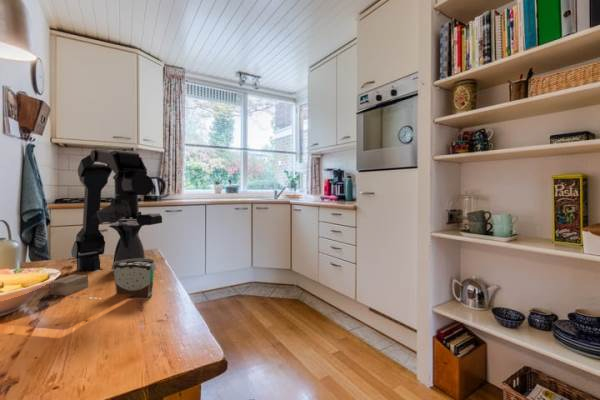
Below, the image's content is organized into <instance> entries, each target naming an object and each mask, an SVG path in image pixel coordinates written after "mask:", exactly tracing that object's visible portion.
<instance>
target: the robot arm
mask: <svg viewBox="0 0 600 400" xmlns="http://www.w3.org/2000/svg"><path fill="white" fill-rule="evenodd" d="M112 171H113V173H114V175H113V176H112V179H113V180H114V198H111V200H110V204H109V205H107V206H104V207H103V208H101V199H102V198H101V197H102V190H103V189H104V188H105V187H106V185H107V184H108V181H109V177H110V176H111V174H112ZM77 175H78V177H79V179H78V180H79V182H80V183H81V184H82V187H84V195H83V196H84V198H83V213H82V214H83V216H82V228H81V229H80V231H78V233H77V234H76V235H75V236H76V237H75V240H74V242H73V244H72V248H71V250H70V251H71V257H72V258H73V259H75V260H76V270H77V271H79V272H81V273H82V272H95V271H97V270H98V271H103V270H104V268H101V259H100V255H104V253H105V248H106V241H105V236H104V235H103V234H102V232H101V231H100V225H102V224H103V223H109V224H110V225H108V226H109V228H112V229H114V230H115V231H116V233H117V234H118V235H119V238H121V240H122V242H123V244H124V246H125V248H126V249H129V248H131V246H132V244H133V241H134V239H135V237H136V235H138V233H139V232H140V230H141V229H142V227H144V226H153V225H157V224H158V225H159V224H162V223H163V217H162V215H161V214H160V213H142V211H139V203H140V202H142V198H140V197H139V196H146V195H148V194H150V193H151V192H152V191H153V189H154V182H153V180H152V177H150V176H149V175H148V169H147V167H146V165H145V163H144V161H143V159H142V157H141V156H140V153H138V152H135V151H124V150H111V151H110V150H107V149H96V148H94V149H92V150H91V151H90V154H89V155H87V156H85V157H84V158H82V159H81V160H80V162H79V165H78V168H77Z"/></svg>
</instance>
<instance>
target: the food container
mask: <svg viewBox="0 0 600 400" xmlns="http://www.w3.org/2000/svg"><path fill="white" fill-rule="evenodd" d="M157 267H158V266H157V264H156V262H155V260H154V259H152V258H137V259H127V260H121V261H117V262H113V261H112V265H111V268H110V269H111V271H113V277H114V285H115V294H116V295H130V296H128V297H126V299H133V300H134V299H135V300H150V299H151V298H152V296H153V285H154V275H155V271H156V270H157Z"/></svg>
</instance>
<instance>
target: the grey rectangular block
mask: <svg viewBox="0 0 600 400" xmlns="http://www.w3.org/2000/svg"><path fill="white" fill-rule="evenodd" d="M50 282H51V283H50ZM50 282H49V291H50V293H49V294H50V295H52V296H55V295H58V296H68V295H71V294H74V293H77V292H78V291H81V290H84V289H86V288H88V287H89V275H87V274H71V275H68V276H65V277H60V278H58V279H56V280H52V281H50Z"/></svg>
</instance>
